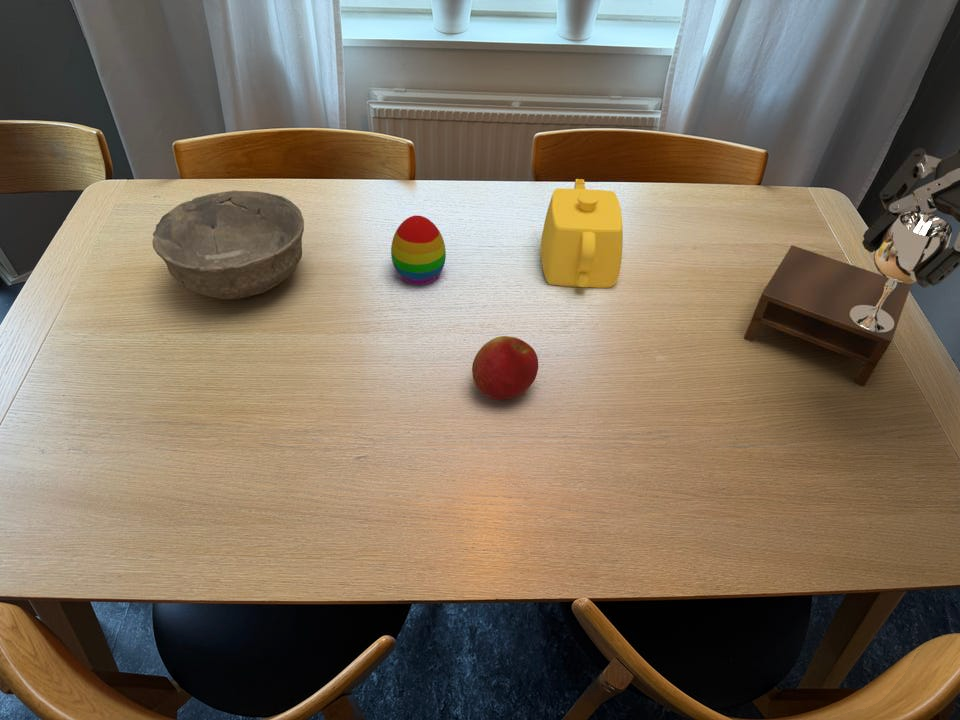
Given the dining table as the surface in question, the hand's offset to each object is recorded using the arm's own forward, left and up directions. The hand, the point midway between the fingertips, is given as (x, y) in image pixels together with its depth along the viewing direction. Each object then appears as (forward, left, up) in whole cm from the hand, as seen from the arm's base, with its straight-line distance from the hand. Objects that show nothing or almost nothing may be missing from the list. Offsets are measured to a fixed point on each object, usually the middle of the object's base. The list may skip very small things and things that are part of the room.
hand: (892, 264), depth 65 cm
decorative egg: (+57, +5, -24) cm, 62 cm away
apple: (+33, +18, -24) cm, 45 cm away
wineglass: (-1, -2, -8) cm, 8 cm away
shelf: (+3, -17, -23) cm, 29 cm away
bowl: (+77, +22, -24) cm, 84 cm away
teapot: (+39, -13, -24) cm, 48 cm away
